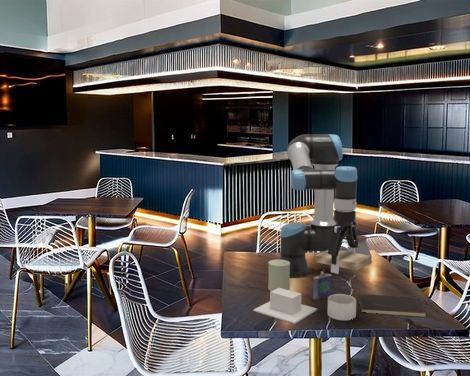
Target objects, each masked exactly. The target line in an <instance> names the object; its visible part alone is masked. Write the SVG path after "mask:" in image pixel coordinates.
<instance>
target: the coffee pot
mask: <svg viewBox="0 0 470 376" xmlns="http://www.w3.org/2000/svg"><path fill="white" fill-rule="evenodd" d="M357 238H358V248H355V253H358V254H364V255H369V256H371V259H372V258H373V256H372V254H371V251H370V249H369V246H368V243H367V239H368V236H366V235H358V234H357ZM343 241H347V239H346V237H345V239H343Z"/></svg>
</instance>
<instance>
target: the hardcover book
mask: <svg viewBox="0 0 470 376" xmlns="http://www.w3.org/2000/svg"><path fill="white" fill-rule="evenodd" d="M357 298H358V302H359V304H360V305H359V306H360V311H361V313H362V312H366V313H367V314H376V313H378V314H377V315H393V316H408V317H423V318H426V315H427V311H426V309H425V308H424V306H423V304H422V303H421V301H420V299H419V298H418V297H417V296H401V295H389V294H388V295H386V294H385V295H383V294H370V293H369V294H368V293H357ZM366 313H365V314H366Z"/></svg>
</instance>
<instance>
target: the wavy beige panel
mask: <svg viewBox="0 0 470 376" xmlns="http://www.w3.org/2000/svg"><path fill="white" fill-rule="evenodd" d="M338 255H339V268H343V269H348V270H352V271H353V270H354V271H359V270H360V269H362V268H364V267H366V266H368V265H369V264H371V263H372V258H371V256H372V255H371V256H369V255H364V254H358V253H353V252H347V250H346V251H345V250H341V249H340V250H339V253H338ZM314 262H315V263H319V264H324V265H329V266H331V255H330V254H328V250H327V251H321V252H320V253H317V254H315V261H314Z"/></svg>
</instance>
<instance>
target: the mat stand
mask: <svg viewBox="0 0 470 376" xmlns="http://www.w3.org/2000/svg"><path fill="white" fill-rule="evenodd" d="M317 311H318V308H316V307H313V306H309V305H306V304H302V293H301V292H296V291H293V290H286V289H282V288H277V289H275V290H273V291H270V292H269V301H268V302H266V303H264V304H261V305H260V306H258V307H255V308H254V309H253V312H256V313H257V314H262V315H264V316H267V317H271V318H275V319H277V320H281V321H284V322H287V323H289V324H290V323H291V324H294V325H295V324H297V323H299V322H300V321H302V320H304V319H305V318H306V317H308V316H310V315H312V314H313V313H315V312H317Z"/></svg>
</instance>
